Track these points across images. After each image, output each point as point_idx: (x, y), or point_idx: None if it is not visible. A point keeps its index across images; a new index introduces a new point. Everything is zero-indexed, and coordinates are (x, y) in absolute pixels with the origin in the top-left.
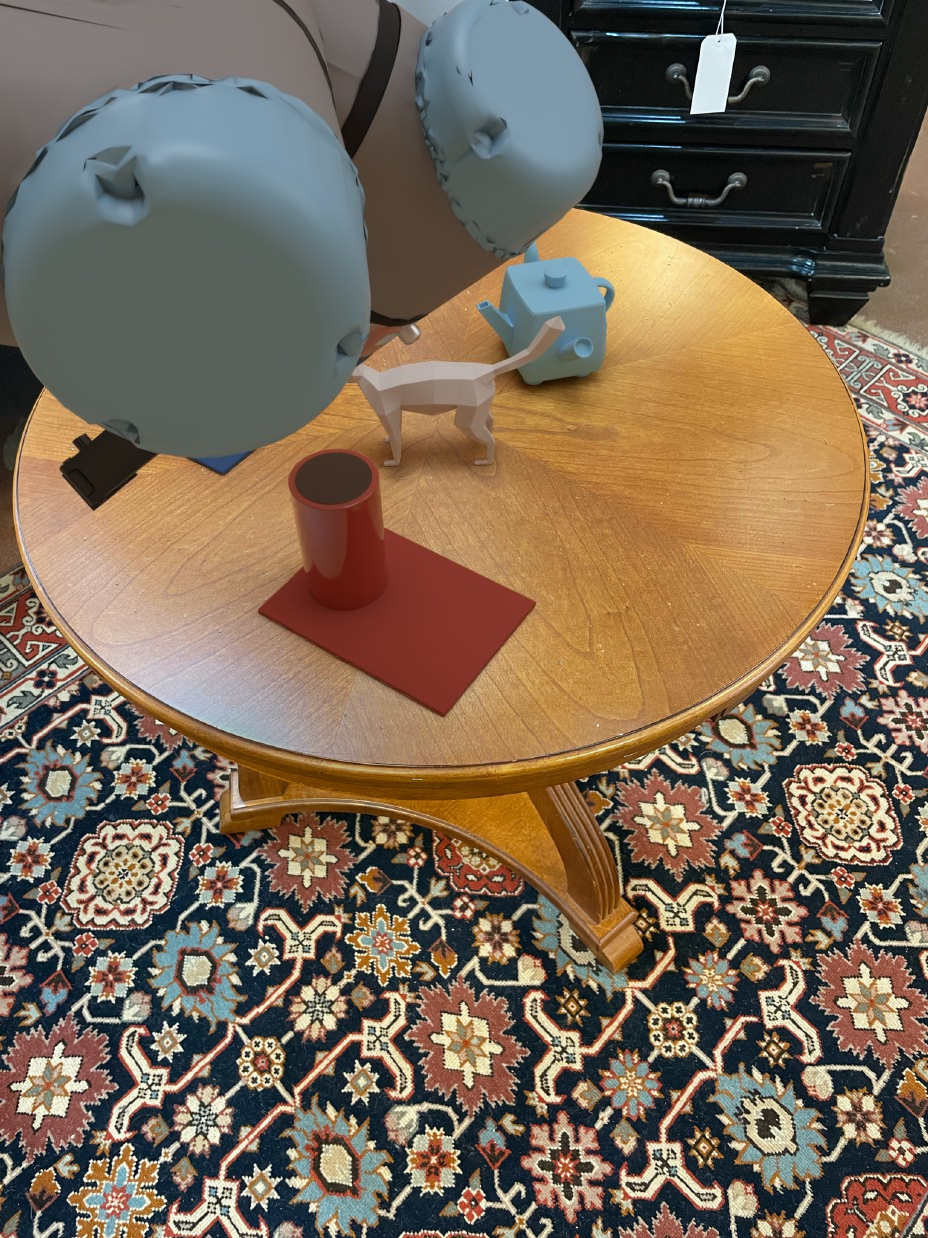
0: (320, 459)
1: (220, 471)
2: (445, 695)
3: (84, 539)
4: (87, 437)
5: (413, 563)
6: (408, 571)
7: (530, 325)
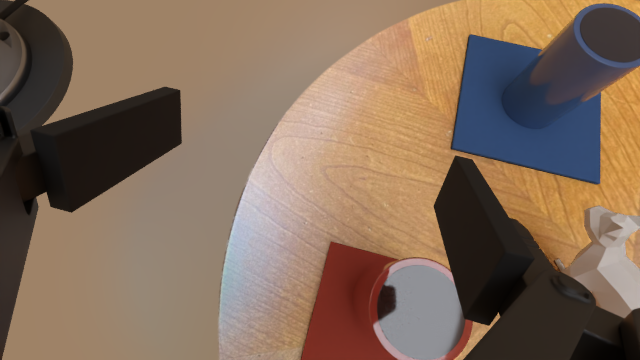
0: (441, 282)
1: (452, 145)
2: None
3: (351, 91)
4: (8, 120)
5: None
6: None
7: None
